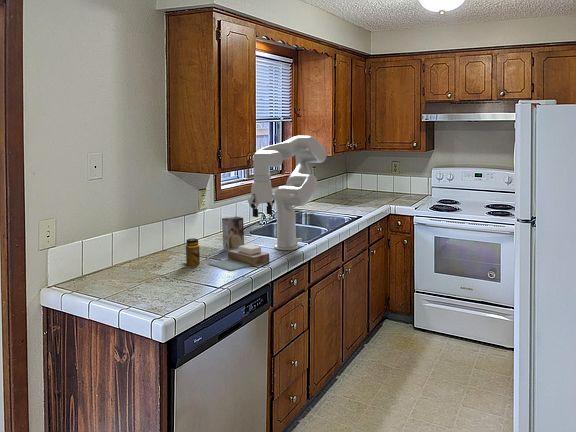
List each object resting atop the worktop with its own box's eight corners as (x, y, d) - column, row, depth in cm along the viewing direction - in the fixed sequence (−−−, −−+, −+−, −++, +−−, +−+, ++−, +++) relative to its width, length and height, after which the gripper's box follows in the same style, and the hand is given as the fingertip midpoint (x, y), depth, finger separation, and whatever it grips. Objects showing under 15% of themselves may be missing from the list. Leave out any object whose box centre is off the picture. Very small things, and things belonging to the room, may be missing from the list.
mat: (228, 259, 257) (228, 258, 257) (250, 265, 246) (250, 264, 246) (208, 264, 249) (208, 263, 249) (230, 271, 238) (230, 270, 238)
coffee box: (238, 246, 284) (237, 216, 281) (244, 248, 279) (243, 217, 276) (222, 249, 278) (221, 218, 275) (229, 251, 273) (228, 219, 270)
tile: (248, 249, 261) (248, 244, 260) (261, 252, 254) (261, 247, 254) (238, 251, 256) (238, 246, 256) (251, 254, 250) (251, 249, 250)
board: (244, 255, 265) (243, 247, 264) (269, 261, 253) (269, 253, 252) (227, 259, 258) (227, 250, 258) (253, 266, 246) (252, 257, 245)
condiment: (201, 266, 246) (200, 240, 244) (182, 268, 244) (181, 241, 242) (200, 262, 253) (199, 237, 251) (181, 263, 251) (180, 238, 249)
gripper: (270, 176, 264) (270, 212, 267) (242, 179, 252) (243, 217, 255) (280, 177, 259) (281, 214, 262) (253, 181, 247) (253, 219, 250)
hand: (262, 215), depth 258 cm, fingers open, 8 cm apart
